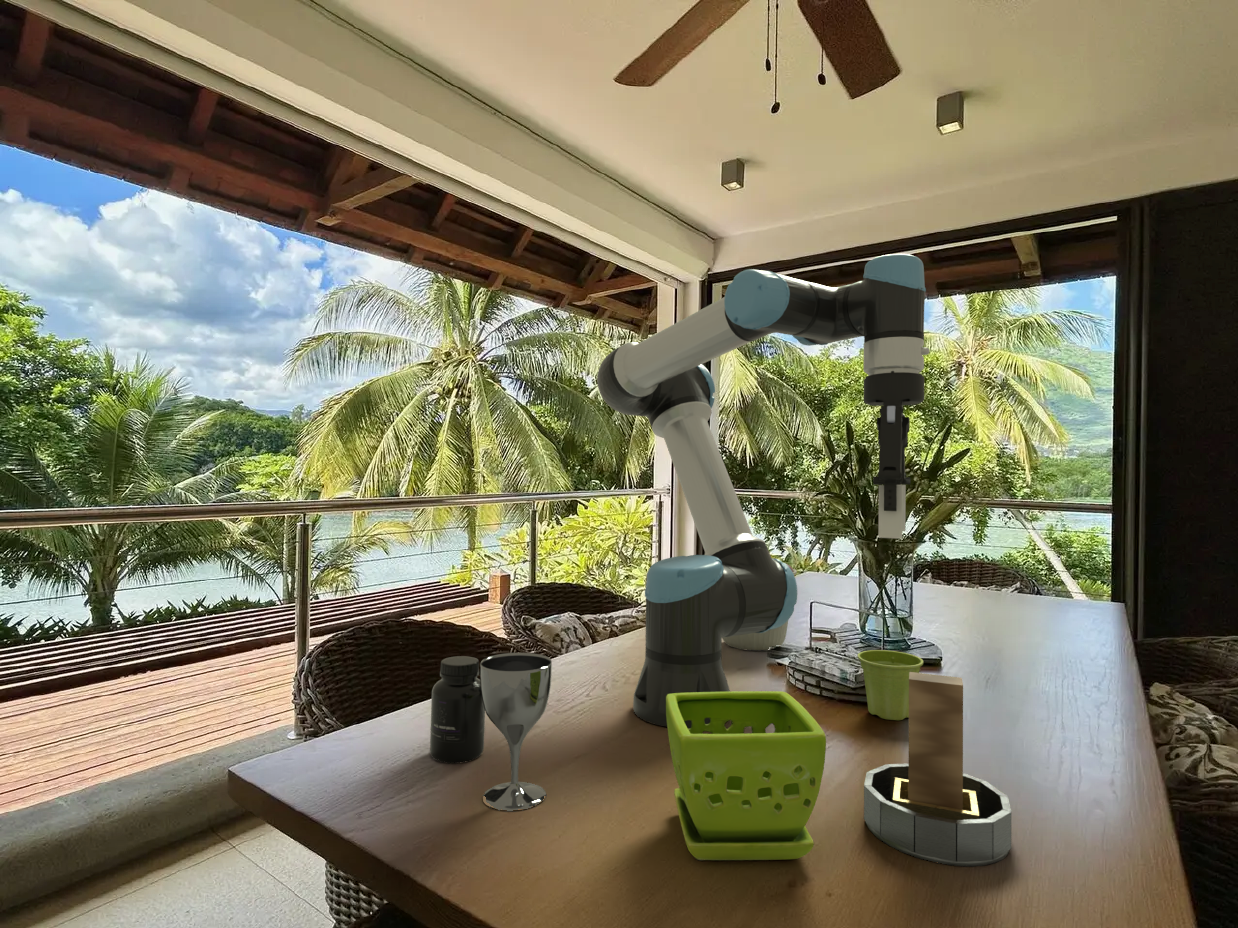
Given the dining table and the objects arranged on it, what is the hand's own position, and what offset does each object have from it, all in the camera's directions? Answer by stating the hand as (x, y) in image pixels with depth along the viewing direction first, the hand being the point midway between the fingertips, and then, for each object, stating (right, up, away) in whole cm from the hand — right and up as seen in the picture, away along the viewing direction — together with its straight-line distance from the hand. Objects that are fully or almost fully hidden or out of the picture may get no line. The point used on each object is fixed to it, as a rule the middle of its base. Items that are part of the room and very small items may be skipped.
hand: (892, 534), depth 93 cm
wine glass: (-48, -28, -14) cm, 57 cm away
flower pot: (-24, -28, -23) cm, 44 cm away
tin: (-4, -28, -21) cm, 35 cm away
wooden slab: (-4, -28, -21) cm, 35 cm away
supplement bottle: (-57, -28, -3) cm, 64 cm away
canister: (-8, -30, +57) cm, 65 cm away
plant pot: (+5, -29, +15) cm, 33 cm away
